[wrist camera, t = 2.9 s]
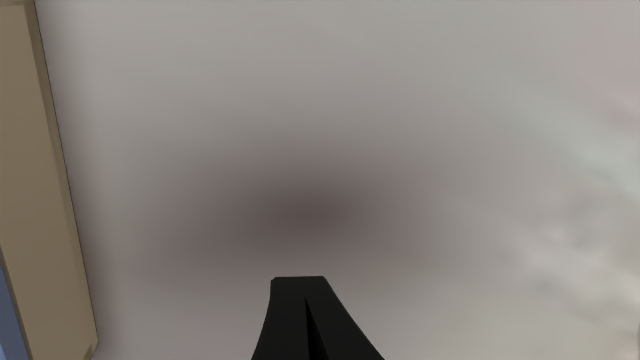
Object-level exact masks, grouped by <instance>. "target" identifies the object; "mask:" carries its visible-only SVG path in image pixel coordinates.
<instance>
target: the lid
mask: <svg viewBox="0 0 640 360" xmlns="http://www.w3.org/2000/svg"><path fill="white" fill-rule="evenodd" d="M0 360H29V358H28V355H27V352H26V348H25V345H24V342H23V338H22V335H21V331H20V328H19V325H18V321H17V318H16V314H15V311H14V308H13V304H12V301H11V297H10V294H9V291H8V287H7V284H6V281H5V277H4V274H3V270H2V267H1V264H0Z"/></svg>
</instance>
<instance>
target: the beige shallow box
mask: <svg viewBox="0 0 640 360" xmlns="http://www.w3.org/2000/svg"><path fill="white" fill-rule="evenodd" d="M0 264H1V267H2V270H3V274H4V277H5V281H6V284H7V287H8V291H9V294H10V297H11V301H12V304H13V308H14V311H15V314H16V318H17V321H18V325H19V328H20V331H21V335H22V338H23V342H24V345H25V348H26V352H27V355H28V358H29V360H90V359H91V357H92V355H93V352H94V350H95V348H96V346H97V344H98V337H97V332H96V327H95V322H94V316H93V311H92V306H91V301H90V295H89V290H88V285H87V279H86V274H85V269H84V264H83V258H82V253H81V248H80V242H79V237H78V232H77V227H76V221H75V216H74V211H73V205H72V200H71V195H70V190H69V184H68V179H67V174H66V169H65V163H64V158H63V153H62V147H61V142H60V137H59V132H58V126H57V121H56V116H55V110H54V105H53V100H52V95H51V89H50V84H49V79H48V74H47V68H46V63H45V58H44V52H43V47H42V42H41V37H40V31H39V26H38V21H37V15H36V10H35V5H34V0H0Z"/></svg>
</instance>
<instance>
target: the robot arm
mask: <svg viewBox="0 0 640 360" xmlns="http://www.w3.org/2000/svg"><path fill="white" fill-rule="evenodd" d="M251 360H385V359H384V358H383V357H382V356H381V355H380V354H379V352H378V351H377V350H376V349H375V347H374V346H373V345H372V344H371V343H370V341H369V340H368V339H367V337H366V336H365V335H364V333H363V332H362V331H361V330H360V328H359V327H358V326H357V324H356V323H355V322H354V320H353V319H352V317H351V316H350V315H349V313H348V312H347V310H346V309H345V307H344V306H343V305H342V303H341V302H340V300H339V299H338V297H337V296H336V294H335V293H334V291H333V289H332V288H331V286H330V285H329V283H328V281H327V280H326V279H325V278H324V277H323V276H303V277H275V278H274V279H273V280H271V288H270V301H269V306H268V310H267V314H266V318H265V321H264V324H263V328H262V331H261V334H260V337H259V340H258V343H257V346H256V349H255V351H254V354H253V356H252V359H251Z"/></svg>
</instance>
